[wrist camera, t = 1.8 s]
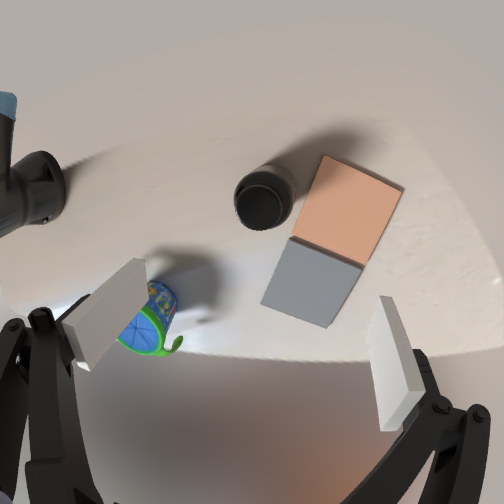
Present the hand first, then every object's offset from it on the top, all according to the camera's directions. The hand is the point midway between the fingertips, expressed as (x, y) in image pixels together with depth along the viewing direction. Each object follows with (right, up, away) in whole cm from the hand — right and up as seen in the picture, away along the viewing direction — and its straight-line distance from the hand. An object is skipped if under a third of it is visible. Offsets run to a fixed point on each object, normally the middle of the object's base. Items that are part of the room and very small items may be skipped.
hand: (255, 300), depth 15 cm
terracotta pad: (+13, +8, +24) cm, 28 cm away
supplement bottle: (+3, +12, +24) cm, 27 cm away
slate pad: (+9, -3, +29) cm, 31 cm away
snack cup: (-17, -6, +36) cm, 40 cm away
